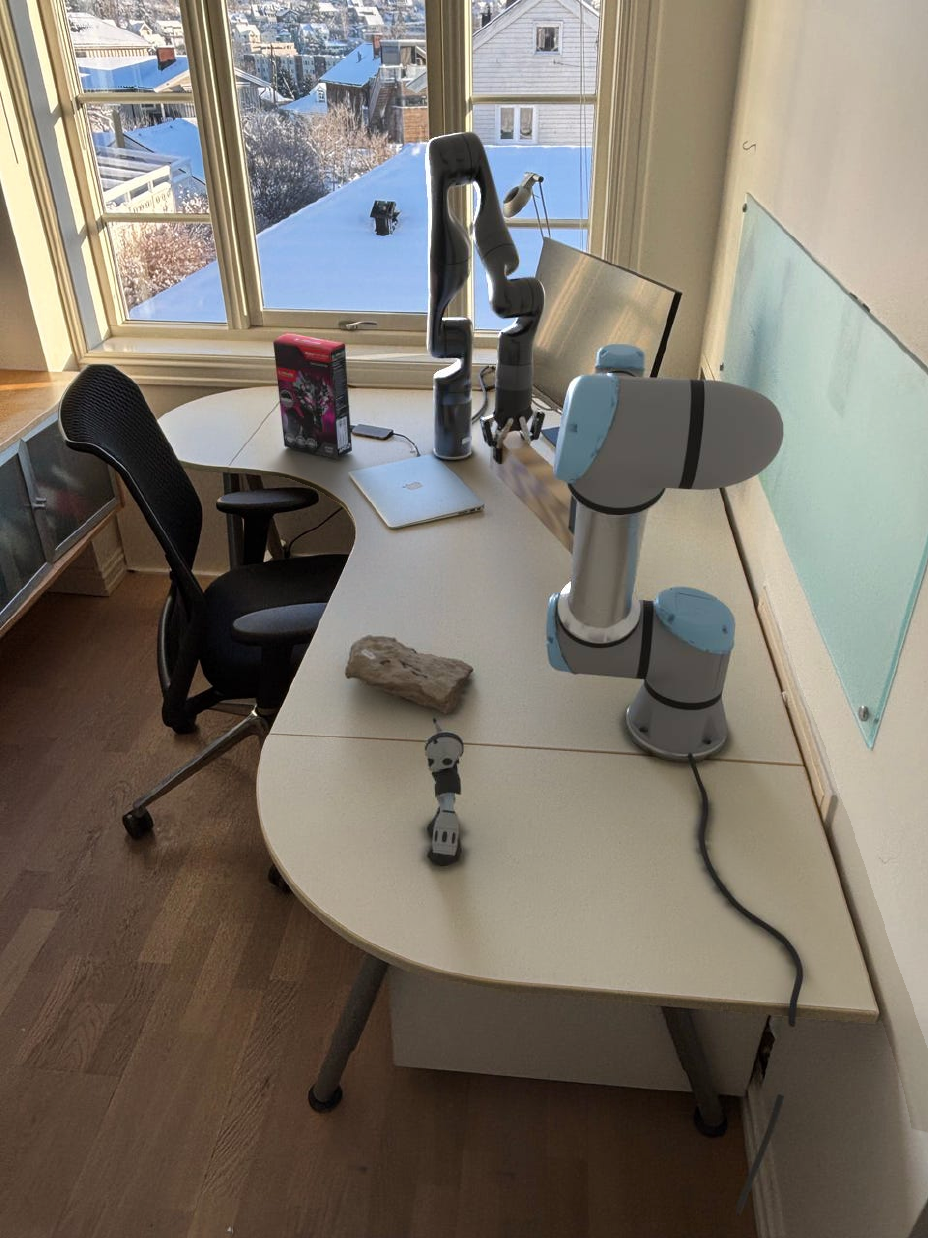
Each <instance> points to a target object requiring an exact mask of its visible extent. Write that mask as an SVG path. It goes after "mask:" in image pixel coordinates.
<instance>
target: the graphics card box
mask: <svg viewBox="0 0 928 1238" xmlns="http://www.w3.org/2000/svg"><path fill="white" fill-rule="evenodd" d="M272 344H273V345H272V346H273V349H274V350H273V353H274V361H275V362H274V363H275V371H276V380H277V381H276V382H277V390H278V398H279V399H278V400H279V408H280V417H281V418H280V419H281V428H282V435H283V436H282V437H283V446H284V447H285V448H289V449H294V450H298V451H302V452H306V453H311V454H315V455H319V456H323V457H328V458H333V459H336V460H338V459H339V460H340V458H342V457H344V456H346V455H347V454H349V453H350V452H352V451H353V446H352V429H351V415H350V402H349V401H350V400H349V385H348V370H347V356H346V343H345V342H339V341H338V342H337V341H333V340H327V339H321V338H317V337H311V336H305V335H300V334H295V333H289V332H288V333H285V334H282V335H280V336H279V337H277V338H276V339H274V340H273V342H272Z"/></svg>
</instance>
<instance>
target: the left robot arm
mask: <svg viewBox="0 0 928 1238" xmlns="http://www.w3.org/2000/svg"><path fill="white" fill-rule="evenodd" d="M425 152H426V153H425V171H426V186H427V187H426V188H427V198H428V199H427V201H428V247H427V265H428V267H427V268H428V269H427V270H428V272H427V273H428V311H427V324H426V350H427V353H428V355H429V357H431V358H432V359H435V360H456V362H454V363H453V364H451V365H449V366H448V367H445V368H443V369H440V370H438V371H436V373H435V374H434V375H433V454H434V456H435V457H437V458H439V459H442V460H446V461H459V460H464V459H467V458H469V457H470V456H471V455H472V439H473V437H472V422H473V421H474V420H475V419H477V418H479V424H480V427H481V433H482V437H483V441H484V443H485V444H487V446H488V447H490V448H491V447H492V446H493V459H494V460H495V461H496V463H497V464H502V449H503V448H502V444H503V441H504V439H506V437H507V434H508V433H509V432H512V431H515V432H518V434H519V436H521V437H522V438H523V439H524V440H525V441H526V442H527V443H528V444H529V445H530V446H531V443H532V442H533V441H538V440H539V439H540V435H541V432H542V430H543V429H542V428H543V425H544V421H545V417H546V413H545V412H544V411H543V410H541V409H540V408H536V409H533V408H532V404H533V389H534V388H533V387H534V342H535V338H536V334H537V332H538V328H539V325H540V321H541V319H542V316H543V313H544V308H545V305H546V290H545V288H544V285H543V283H542V281H541V280H540V279H539V278H537V277H535V276H523V277H517V278H508V276H510V275H513V274H514V273H515V272H516V271H517V270H518V268H519V267H520V265H521V257H520V253H519V251H518V249H517V246H516V245H515V242H514V239H513V237H512V235H511V233H510V231H509V229H508V228H509V227H508V225H507V223H506V220H505V218H504V215H503V210H502V207H501V203H500V200H499V196H498V191H497V187H496V184H495V180H494V176H493V172H492V170H491V165H490V162H489V159H488V155H487V152H486V149H485V146H484V144H483V142H482V139H481V138H480V137H479V135H478V134H477V133H475V132H474V131H462V132H457V133H452V134H446V135H441V136H438V137H434V138H431V139H430V140H429V142H428V143H427V147H426V151H425ZM471 184H473V186H474V188H475V191H476V193H477V206H476V211H475V215H474V220H473V224H472V225H473V226H472V238H473V239H472V240H473V244H474V248H475V250H476V253H477V254H478V256H479V259H480V261H481V264H482V266H483V269H484V273H485V278H486V284H487V291H488V301H489V306H490V309H491V311H492V312H493V314H494V315H495V316H496V317H497V318H498V319H499V318H500V319H501V320H511V319H516V320H515V321H514V322H513V323H512V324H511V325H509V326H507V327H505V328H503V329H502V330H500V331H499V333H498V336H497V356H496V360H497V361H496V365H495V366H494V365H493V366H492V367H490V369H493V370H495V377H494V383H495V384H494V410H493V411H492V414H490V415H488V416H485V415H482V416H480V415H481V414H482V413H483V412H484V410H485V408H486V406H487V401H488V398H487V397H488V396H487V390H486V387H485V385H484V381H483V379H482V375H483V373H485V371H486V370H488V369H489V365H490V364H488V365H486V366H485V367H483V368H482V369H481V370H480V371H479V373H478V375H477V377H478V381H479V383H480V387H481V390H482V394H483V403H482V406H481V407H480V409H479V410H478V411H477V412H476V413H474V415H473V416H472V410H473V409H472V407H473V396H472V395H473V356H474V355H473V354H474V342H475V341H474V339H475V331H474V330H475V329H474V325H473V321H472V320H471V319H470V318H469V317H444V316H445V314H446V311H447V309H448V307H449V305H450V303H451V302H452V301H453V300H454V298H455V297H456V296H457V295H458V294H459V292H460V291H461V290H462V288H463V287H464V286H465V285H466V283H467V281H468V279H469V277H470V275H471V271H472V251H473V248H472V247H473V246H472V241H471V238H470V236H469V234H468V232H467V230H466V228H464V226H463V225H462V223H461V222H460V221H459V219H458V218H457V216H456V215H455V213H454V212H453V209H452V207H451V204H450V200H449V199H450V198H449V193H450V189H452V188H457V187H462V186H467V185H471ZM531 419H532V420H531ZM530 420H531V421H532V422H531V425H530V429H529V428H528V425H527V424H528V422H529V421H530ZM494 422H495V423H496V426H495V429H494V432H495V435H494V437H493V436H492V432H493V431H492V427H493V423H494Z"/></svg>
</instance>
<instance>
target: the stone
mask: <svg viewBox="0 0 928 1238" xmlns="http://www.w3.org/2000/svg"><path fill="white" fill-rule="evenodd" d="M348 656H349V657H348V660H347V665H346V667H345V672H344V675H345V677H346V678H347V679H358V680H361V681H362V682H364V683H365V685H366V686H367V687H369V688H372V689H379V690H380V691H381V692H385V693H389V694H390V693H391V694H392V693H393V694H395V695H396V696H399V697H401V698H405V699H407V700H408V701H409V700H410V701H412V702H414V703H415V704H418V705H420V706H426V707H433V708H434V709H436V710H438V711H440V712H442V713H445V714H449V713H453V712H454V710H456V708H457V707H458V704H459V702H460V699H461V693H462V691H463V690H464V687H465V686H466V683H467V682H468V680H469V679H470V676H471V675H472V673H473V672H474V668H473V667H472V666H471V665H470V664H468V663H467V662H465V661H463V660H460V659H457V658H451V657H450V658H449V657H444V656H437V655H435V654H433V653H422V652H418V651H417V650H416V649H415V648H413V647H407V646H406V645H404V644H403V643H402V642H399V641H398V640H397V638H395V637H390V636H385V635H379V636H378V635H371V634H368V635H366V636H363V637H361V638H360V639H358V640H356V641H354V642H353V644H351V647H350V650H349V652H348Z"/></svg>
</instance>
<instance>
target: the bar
mask: <svg viewBox="0 0 928 1238" xmlns="http://www.w3.org/2000/svg"><path fill="white" fill-rule="evenodd" d="M491 432H492V436H493V437H494V435H495V431H491ZM502 448H503V449H502V464H497V463H496V461H495V460H494V459H493V446H492V447H490V450H489V451H490V453H489V455H490V456H489V468H490V469H491V470H492V471H493V472H494V473H495V475H496V476H497V477H498V478H499V479H500V480H501V481H502V482H503V483H504V484H505V485H506V487H508V489H510V490H511V492H513V494H514V495H515V496H516V497H517V498H518V499H519V500H520V501H521V502H522V503H523V504H524V506H525V507H526V508H527V509H528V510H529V511H530V512H531V513H532V514H533V515H534V516H535V517H536V518H537V519H538V520H539V522H540V523H541V524H542V525H543V526H544V527H545V528H546V529H547V530H548V531H549V532H550V533H551V534H552V535H553V536H554V537H555V538H556V540H557V541H558V542H559V543H560V544H561V545H562V546H563V547H564V548H565V549H566V551H568V553H569V554H570V555H572V556H573V544H574V535H573V534H572V533H571V532H570V531H569V530H568V524H569V513H570V503H571V493H570V491H569V489H568V486H567V483H565V482H564V481H562V480H559V479H557V478H556V477H555V475H554V465H552V464H551V463H550V462H549V461H547V459H545V458H544V456H542V455H541V454H540V453H539V452H538V451H537V450H536V449H535V448H533V446H532V445H531V444H530V445H529V444H528V443H527V442H526V441H525V440H524V439H523V438H522V437H521V436H520V434H519V433H517V431H512V432H509V433H508V434H507V437H506V439H504V441H503V444H502Z"/></svg>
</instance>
